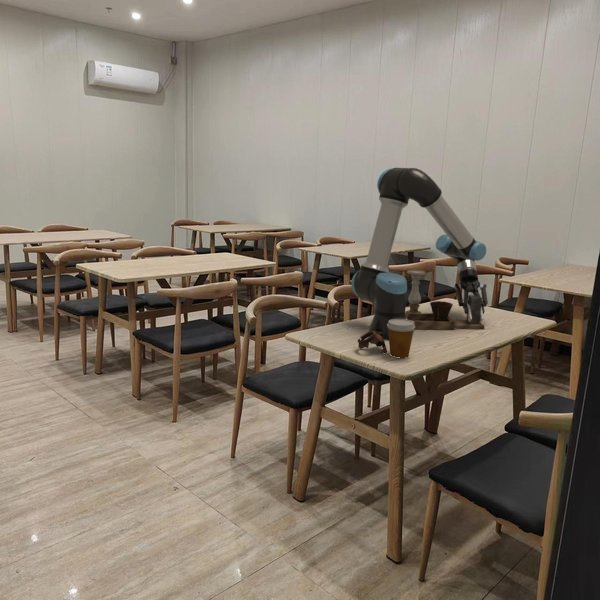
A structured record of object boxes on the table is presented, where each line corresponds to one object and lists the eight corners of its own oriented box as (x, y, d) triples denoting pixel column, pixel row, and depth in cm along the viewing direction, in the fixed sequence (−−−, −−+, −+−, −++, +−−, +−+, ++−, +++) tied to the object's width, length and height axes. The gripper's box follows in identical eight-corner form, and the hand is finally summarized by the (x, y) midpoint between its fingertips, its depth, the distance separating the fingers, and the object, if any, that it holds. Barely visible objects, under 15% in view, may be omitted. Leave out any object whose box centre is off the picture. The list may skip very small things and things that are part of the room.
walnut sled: (413, 328, 219) (415, 299, 216) (407, 319, 232) (408, 291, 230) (485, 330, 219) (488, 300, 216) (475, 320, 232) (477, 293, 229)
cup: (457, 326, 221) (456, 302, 219) (436, 329, 220) (434, 306, 218) (448, 321, 230) (447, 298, 228) (428, 324, 229) (426, 302, 227)
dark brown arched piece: (384, 359, 185) (372, 338, 183) (361, 365, 190) (350, 345, 189) (395, 341, 194) (384, 322, 193) (373, 348, 200) (363, 329, 198)
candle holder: (400, 314, 242) (402, 269, 237) (418, 313, 243) (421, 269, 239) (408, 319, 233) (410, 273, 229) (427, 318, 235) (430, 272, 230)
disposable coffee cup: (418, 355, 187) (420, 321, 185) (404, 362, 180) (406, 327, 178) (394, 349, 193) (396, 316, 191) (380, 355, 186) (381, 322, 184)
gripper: (485, 278, 236) (494, 325, 224) (445, 277, 237) (452, 324, 224) (490, 268, 230) (500, 316, 218) (449, 267, 230) (457, 315, 218)
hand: (476, 320), depth 221 cm, fingers closed on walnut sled, 4 cm apart
